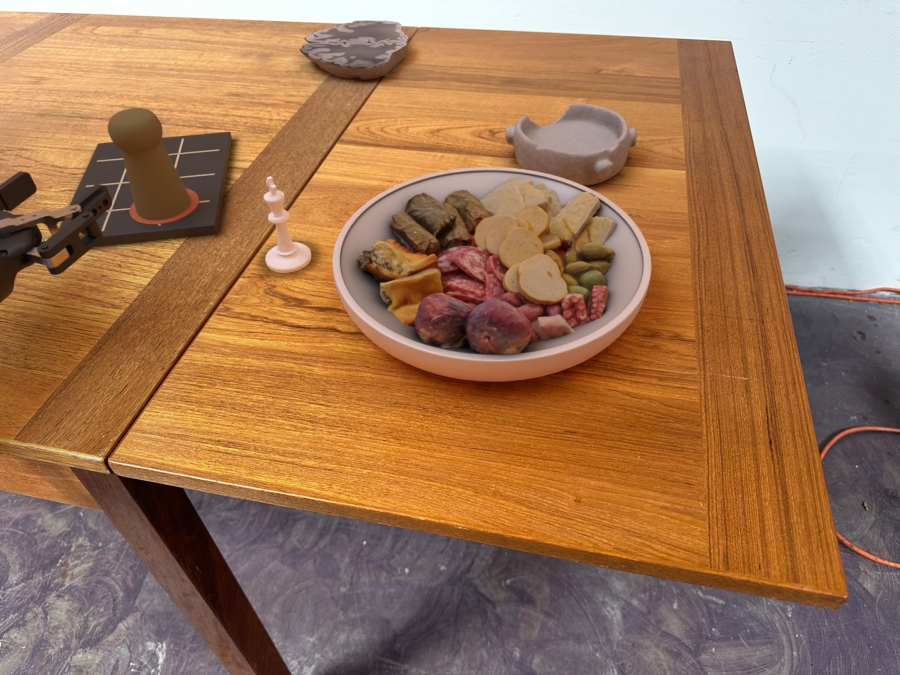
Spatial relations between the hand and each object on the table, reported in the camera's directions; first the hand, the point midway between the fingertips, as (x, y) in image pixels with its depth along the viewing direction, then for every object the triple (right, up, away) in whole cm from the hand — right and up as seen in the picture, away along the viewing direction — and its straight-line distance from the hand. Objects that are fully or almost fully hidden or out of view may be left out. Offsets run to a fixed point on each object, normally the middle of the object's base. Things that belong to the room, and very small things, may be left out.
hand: (67, 186), depth 63 cm
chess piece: (+19, -6, +8) cm, 22 cm away
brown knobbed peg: (+4, +1, +13) cm, 14 cm away
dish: (+52, +8, +21) cm, 56 cm away
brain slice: (+21, +31, +46) cm, 59 cm away
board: (0, +4, +18) cm, 19 cm away
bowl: (+40, -9, +4) cm, 41 cm away
